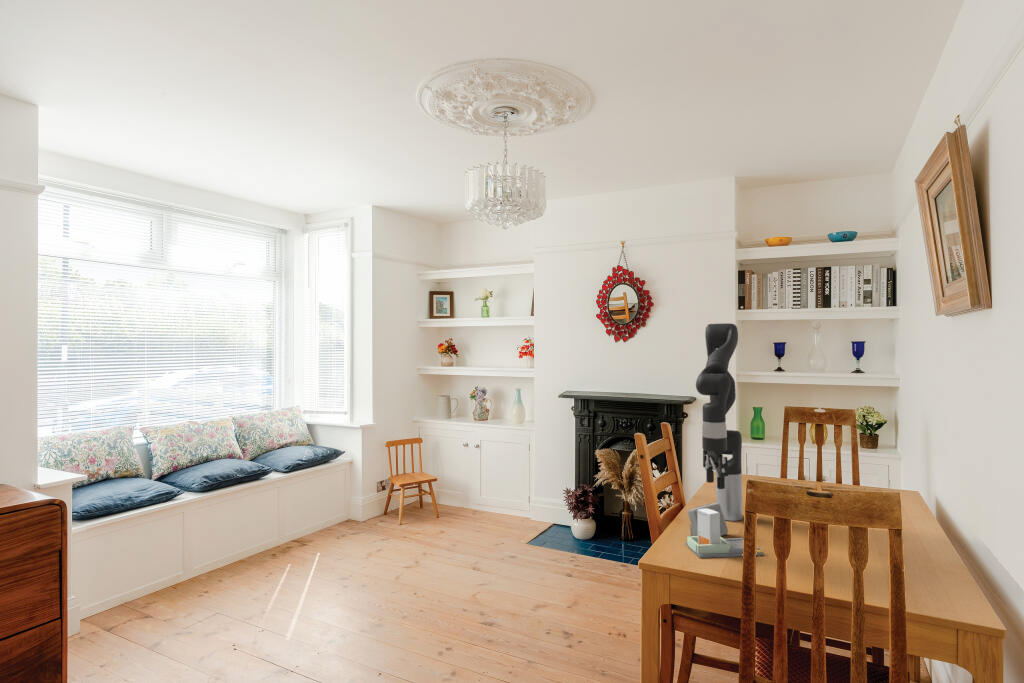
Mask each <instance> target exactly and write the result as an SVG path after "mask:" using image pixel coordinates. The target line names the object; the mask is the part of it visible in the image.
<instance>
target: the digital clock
mask: <svg viewBox="0 0 1024 683" xmlns="http://www.w3.org/2000/svg"><path fill="white" fill-rule="evenodd" d="M704 508H708V509H711V510H714V511H716V512H719V513H720V536H722V537H723V536H726V535H728V533H729V529H728V525H727V522H726V520H725V519H724V515H723V512H722V509H721V506H720V504H719V503H716V502H713V503H706V504H703V505H699V506H696V507H694V508H690V509H689V510H688V511H687V515H688V518H689V522H690V528H689V529H690V530H689V532H690V534H689V535H690V536H698V515H697V510H698V509H704Z"/></svg>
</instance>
